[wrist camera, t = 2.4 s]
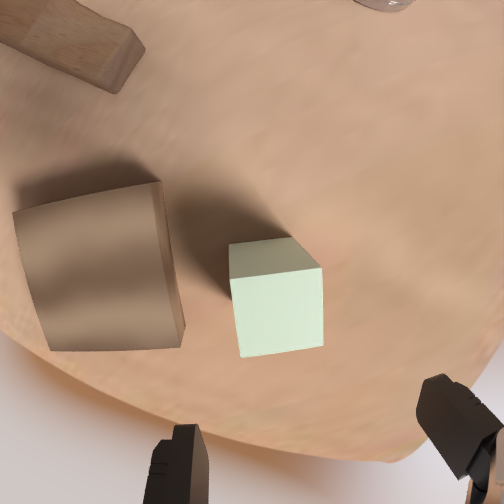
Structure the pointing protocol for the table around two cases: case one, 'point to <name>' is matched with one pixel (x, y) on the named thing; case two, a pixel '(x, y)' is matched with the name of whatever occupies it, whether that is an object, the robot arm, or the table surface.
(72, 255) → the brown tapered block
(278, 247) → the green block
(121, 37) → the wooden block
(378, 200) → the table surface
